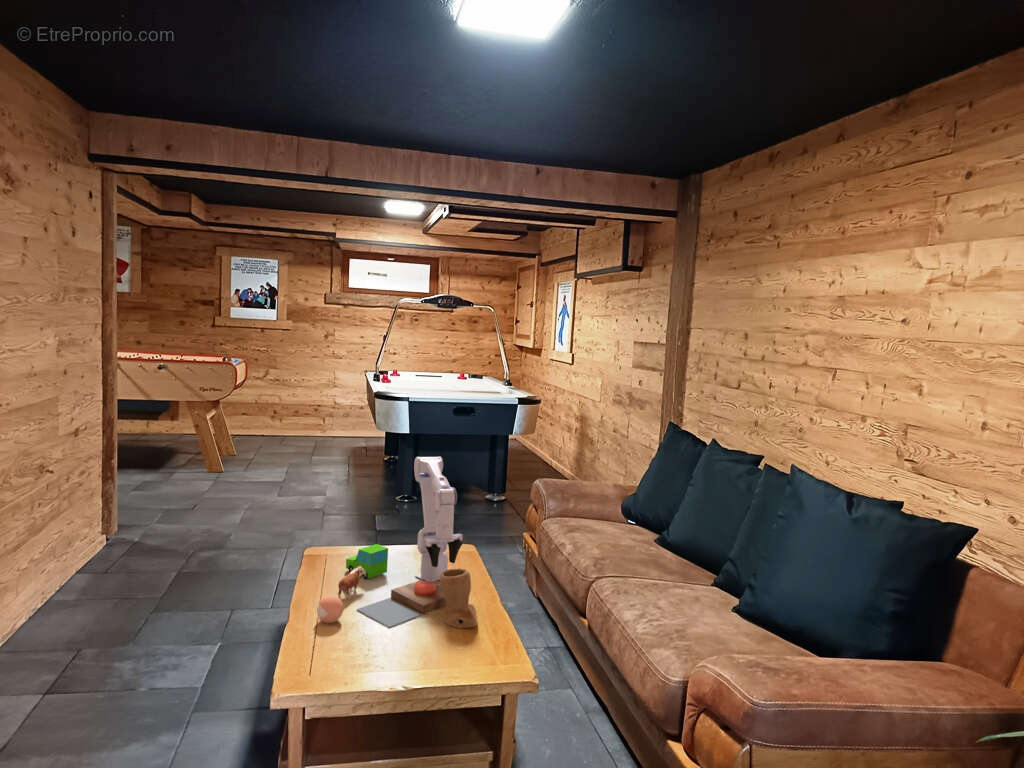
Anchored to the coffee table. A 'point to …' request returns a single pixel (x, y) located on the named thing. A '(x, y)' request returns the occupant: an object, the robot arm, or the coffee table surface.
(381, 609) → the mat
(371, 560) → the toy car
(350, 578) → the bull figurine
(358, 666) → the coffee table surface
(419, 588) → the red ball
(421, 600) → the board
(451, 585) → the brown boot
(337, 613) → the egg
